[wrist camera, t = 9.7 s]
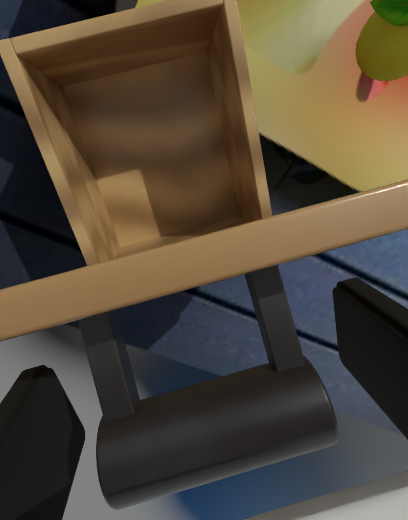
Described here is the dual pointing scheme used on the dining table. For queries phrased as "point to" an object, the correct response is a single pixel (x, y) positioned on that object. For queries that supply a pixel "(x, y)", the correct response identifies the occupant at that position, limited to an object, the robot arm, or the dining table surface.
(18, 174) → the dining table surface
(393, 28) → the lemon
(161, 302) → the dining table surface
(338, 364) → the dining table surface
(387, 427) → the dining table surface
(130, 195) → the open wooden box
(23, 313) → the lid
